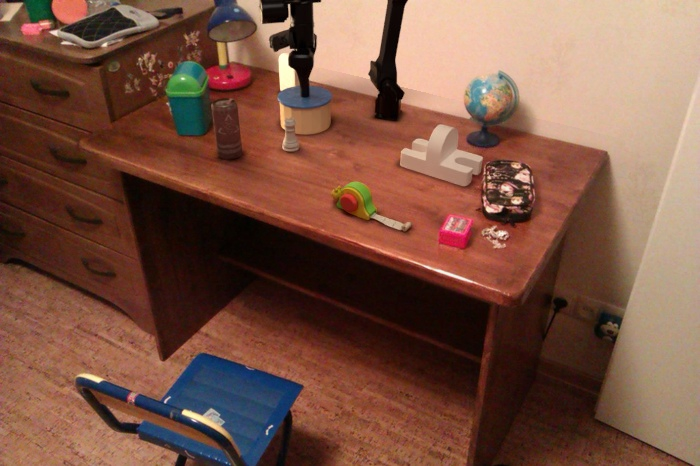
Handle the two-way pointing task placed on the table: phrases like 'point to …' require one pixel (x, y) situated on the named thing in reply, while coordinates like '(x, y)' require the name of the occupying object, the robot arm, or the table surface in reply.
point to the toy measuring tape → (363, 204)
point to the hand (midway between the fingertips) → (304, 81)
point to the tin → (307, 118)
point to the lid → (304, 97)
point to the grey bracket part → (442, 157)
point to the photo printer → (287, 73)
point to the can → (227, 128)
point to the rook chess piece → (290, 136)
